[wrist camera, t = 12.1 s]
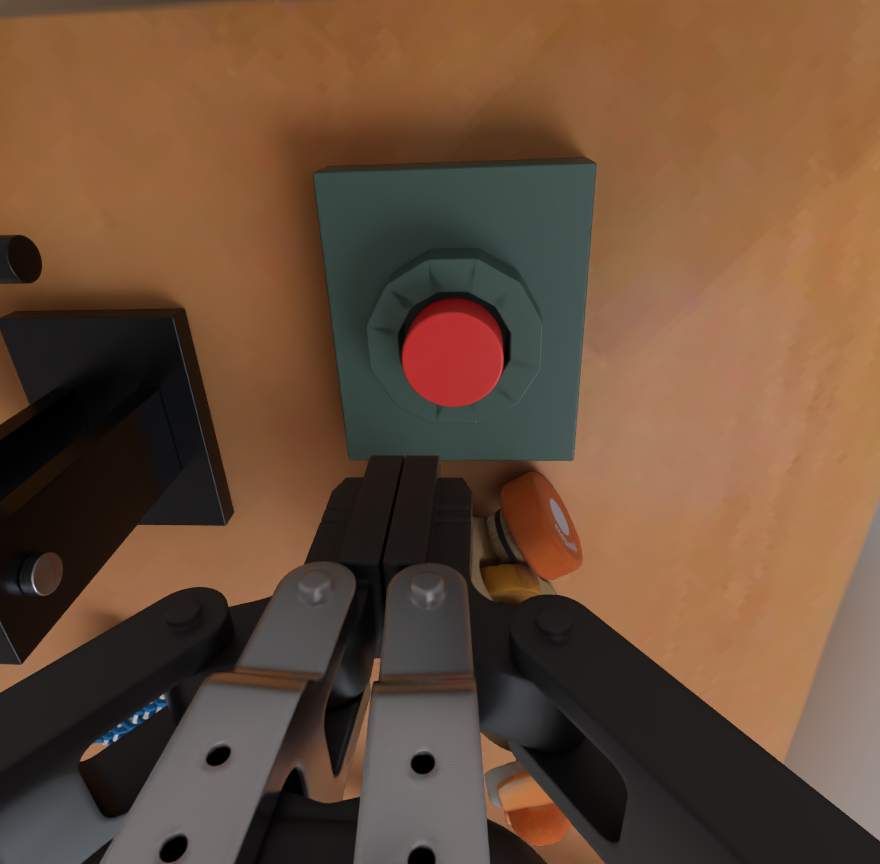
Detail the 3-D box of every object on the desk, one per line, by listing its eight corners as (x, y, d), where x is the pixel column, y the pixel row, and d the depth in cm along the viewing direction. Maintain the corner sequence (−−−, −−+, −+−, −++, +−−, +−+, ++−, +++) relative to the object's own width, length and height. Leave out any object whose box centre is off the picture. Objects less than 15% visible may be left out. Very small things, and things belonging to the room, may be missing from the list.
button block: (326, 166, 24) (297, 177, 20) (587, 157, 23) (606, 167, 19) (357, 437, 29) (340, 482, 26) (567, 437, 29) (579, 484, 25)
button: (404, 297, 22) (397, 312, 21) (503, 296, 22) (504, 310, 20) (409, 388, 24) (404, 408, 22) (502, 387, 24) (503, 407, 22)
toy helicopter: (520, 433, 29) (545, 675, 17) (692, 696, 36) (794, 992, 24) (379, 505, 31) (313, 760, 19) (567, 736, 39) (605, 1023, 27)
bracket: (13, 311, 27) (-315, 455, 16) (185, 307, 27) (-33, 456, 16) (89, 510, 33) (-119, 726, 21) (234, 512, 32) (98, 734, 21)
